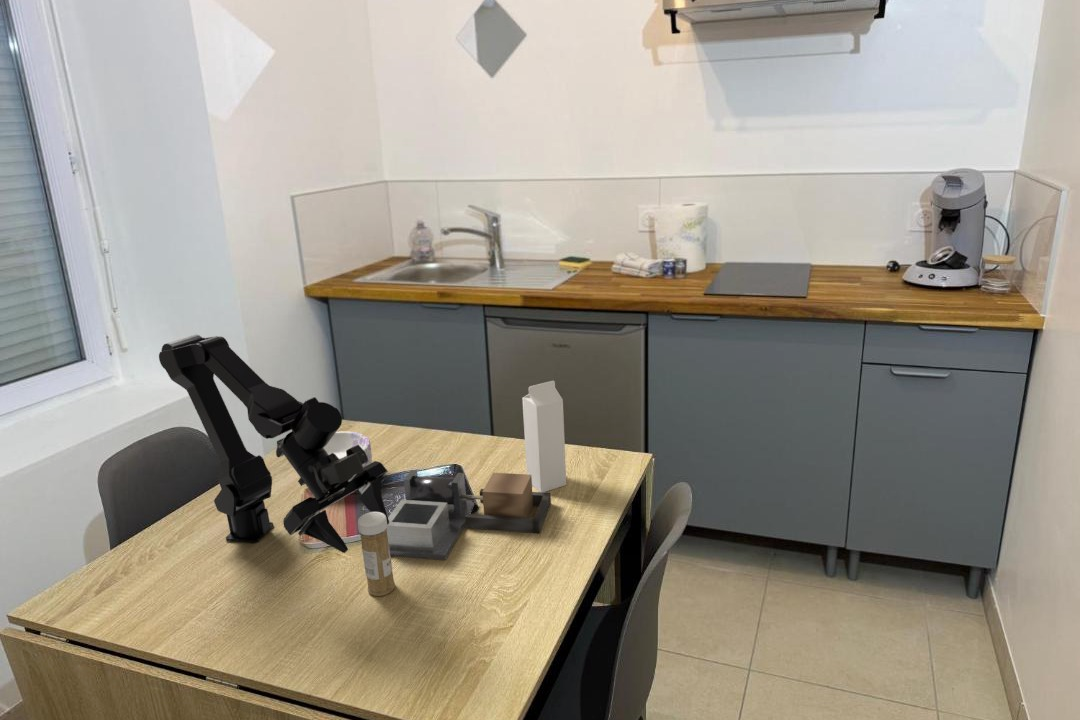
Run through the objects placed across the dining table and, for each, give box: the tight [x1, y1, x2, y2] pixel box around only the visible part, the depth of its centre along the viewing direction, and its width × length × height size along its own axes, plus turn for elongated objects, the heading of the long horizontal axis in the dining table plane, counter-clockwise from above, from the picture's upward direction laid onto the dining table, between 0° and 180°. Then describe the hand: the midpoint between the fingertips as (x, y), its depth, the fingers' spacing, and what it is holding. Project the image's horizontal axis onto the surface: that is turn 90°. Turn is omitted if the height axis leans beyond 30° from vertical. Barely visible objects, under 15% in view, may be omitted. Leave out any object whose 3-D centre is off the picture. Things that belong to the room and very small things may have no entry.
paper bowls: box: [323, 430, 373, 482], centre depth 168 cm, size 15×15×8 cm
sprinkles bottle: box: [357, 511, 396, 597], centre depth 128 cm, size 5×5×14 cm
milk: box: [521, 380, 567, 493], centre depth 159 cm, size 6×6×22 cm
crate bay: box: [465, 472, 552, 534], centre depth 150 cm, size 14×11×7 cm
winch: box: [387, 469, 483, 561], centre depth 146 cm, size 19×19×8 cm
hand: (367, 537), depth 128 cm, fingers open, 9 cm apart
